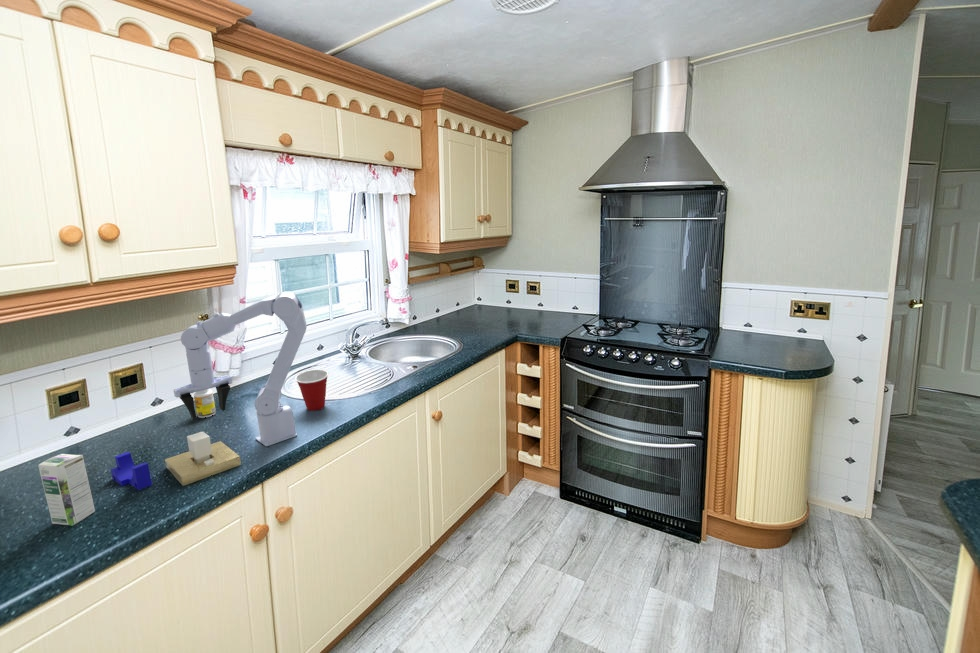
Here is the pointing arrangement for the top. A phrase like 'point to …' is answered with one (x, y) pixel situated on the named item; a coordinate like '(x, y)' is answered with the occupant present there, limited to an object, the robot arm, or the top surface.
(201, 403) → the supplement bottle
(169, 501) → the top surface
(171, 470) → the socket plate
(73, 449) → the top surface
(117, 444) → the top surface
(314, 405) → the plastic cup
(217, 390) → the robot arm
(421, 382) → the top surface
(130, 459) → the cable clip
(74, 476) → the syrup box
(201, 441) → the plug
